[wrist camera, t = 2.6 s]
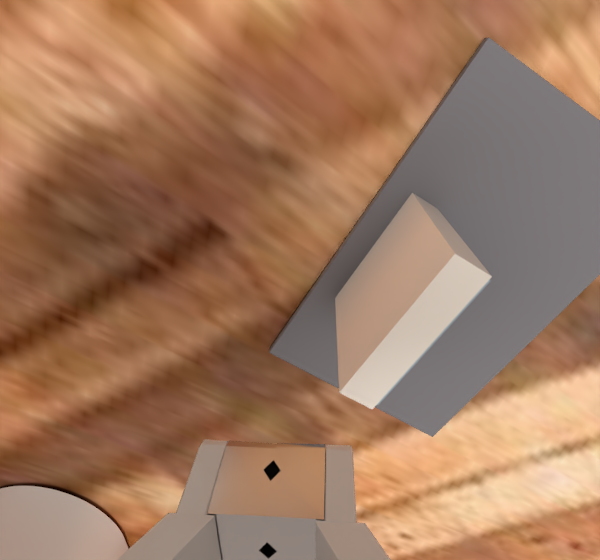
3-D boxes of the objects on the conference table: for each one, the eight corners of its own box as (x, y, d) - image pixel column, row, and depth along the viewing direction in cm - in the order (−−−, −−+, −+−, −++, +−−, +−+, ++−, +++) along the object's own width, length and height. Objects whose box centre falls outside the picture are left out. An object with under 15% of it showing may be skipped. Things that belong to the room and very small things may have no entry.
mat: (430, 430, 33) (432, 436, 32) (270, 347, 30) (269, 352, 30) (680, 184, 24) (688, 187, 24) (484, 38, 22) (488, 37, 21)
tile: (361, 312, 28) (376, 411, 20) (335, 298, 28) (339, 392, 20) (440, 211, 25) (496, 279, 17) (412, 192, 24) (455, 253, 16)
